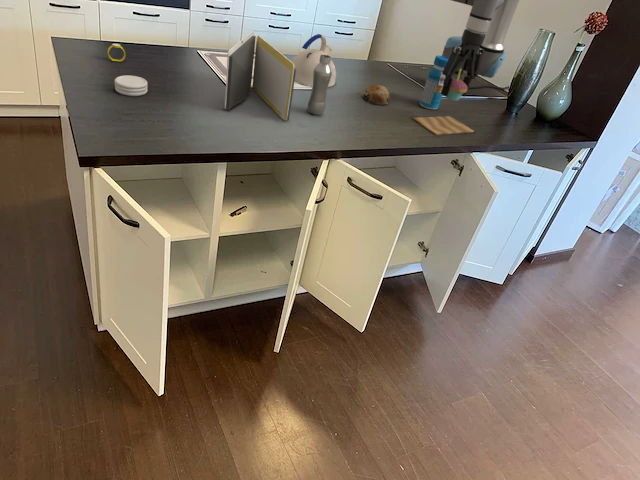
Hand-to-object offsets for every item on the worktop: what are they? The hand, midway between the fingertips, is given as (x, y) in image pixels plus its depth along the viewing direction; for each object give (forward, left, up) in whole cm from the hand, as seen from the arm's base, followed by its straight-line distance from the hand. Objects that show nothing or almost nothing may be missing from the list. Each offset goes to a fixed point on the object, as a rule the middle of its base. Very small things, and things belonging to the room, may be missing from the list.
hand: (453, 94), depth 177 cm
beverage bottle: (-8, -18, -12) cm, 24 cm away
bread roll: (+15, -25, -12) cm, 32 cm away
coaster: (+107, -37, -12) cm, 114 cm away
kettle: (+32, -49, -12) cm, 60 cm away
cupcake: (0, 0, -2) cm, 2 cm away
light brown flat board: (0, 0, -12) cm, 12 cm away
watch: (+106, -66, -12) cm, 125 cm away
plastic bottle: (+49, -15, -12) cm, 53 cm away
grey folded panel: (+71, -26, -12) cm, 76 cm away
